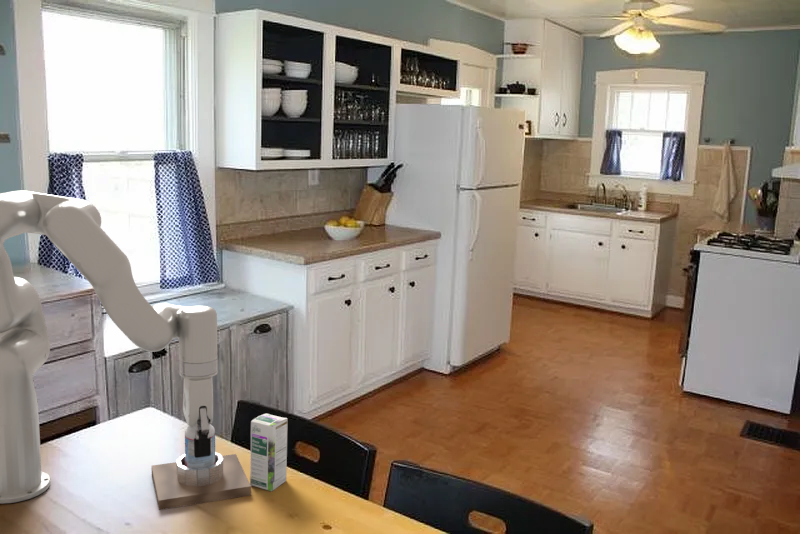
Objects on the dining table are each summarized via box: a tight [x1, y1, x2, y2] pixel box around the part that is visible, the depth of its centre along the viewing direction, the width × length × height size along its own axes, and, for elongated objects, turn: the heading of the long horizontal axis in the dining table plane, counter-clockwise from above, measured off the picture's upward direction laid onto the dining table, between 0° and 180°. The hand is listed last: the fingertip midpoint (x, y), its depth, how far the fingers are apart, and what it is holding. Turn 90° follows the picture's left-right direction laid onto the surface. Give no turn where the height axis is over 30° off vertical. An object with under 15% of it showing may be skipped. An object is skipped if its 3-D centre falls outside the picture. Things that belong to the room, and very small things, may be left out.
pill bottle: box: [184, 421, 216, 469], centre depth 151 cm, size 6×6×11 cm
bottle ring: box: [175, 451, 223, 486], centre depth 152 cm, size 9×9×4 cm
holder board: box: [151, 453, 252, 511], centre depth 152 cm, size 18×16×2 cm
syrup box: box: [249, 413, 288, 492], centre depth 153 cm, size 6×6×14 cm
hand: (200, 448), depth 151 cm, fingers closed on pill bottle, 6 cm apart
